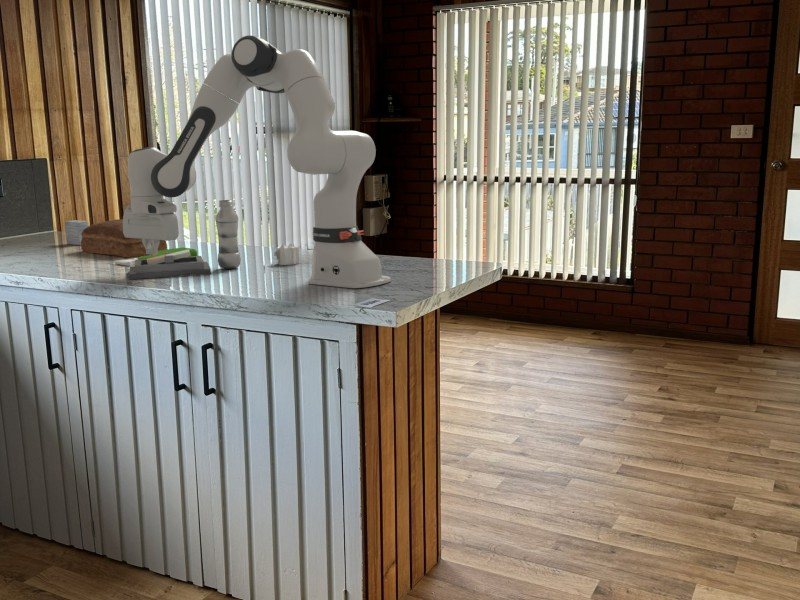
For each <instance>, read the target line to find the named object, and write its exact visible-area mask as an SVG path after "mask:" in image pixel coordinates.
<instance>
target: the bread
mask: <svg viewBox="0 0 800 600" xmlns="http://www.w3.org/2000/svg"><path fill="white" fill-rule="evenodd" d="M150 243H151V242H150ZM151 246H152V243H151ZM80 247H81V251H82V252H83V253H91V254H100V255H107V256H114V257H121V258H137V257H144V256H148V255H147V254H146V249H145V247H144V245H143V243H142V239H138V238H126V237H125V236H124V234H123V218H122V219H120V218H119V219H117V218H116V219H113V220H105V221H100V222H95V223H92V224H91V225H88V227H87V228H85V229H84V230H83V232H82V240H81V245H80ZM157 249H158V251H161V250H167V249H168V244H167V241H165V240H160V244H159V246H158V248H157Z"/></svg>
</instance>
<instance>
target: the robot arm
mask: <svg viewBox="0 0 800 600" xmlns="http://www.w3.org/2000/svg"><path fill="white" fill-rule="evenodd" d="M253 87H254V88H256V90H257V91H260V92H261V91H262V92H267V93H272V94H284V93H285V95H286V98H287V100H288V102H289V105H290V109H291V110H292V114H293V117H294V119H295V125H296V126H295V133H294V135H293V136H292V137H291V139H290V140H289V143H288V146H287V159H288V160H287V161H288V162H289V164H290V166H291V167H292V169H293V170H294V171H296V172H297V173H303V174H307V175H313V176H315V175H316V176H318V175H327V179H326V182H325V184H324V186H323V187H322V188H321V189H320V190H319V191H318V192H317V193H316V194H315V195H314V198H313V219H314V220H313V222H314V223H313V224H314V226H313V227H312V241H314V248H313V251H312V258H311V259H312V262H311V263H312V264H311V274H310V275H311V276H310V279H309V282H308V283H309V285H319V286H329V287H338V288H349V289H361V288H369V287H375V286H379V285H383V284H388V283H390V282H392V279H391V277H390V276H387V275H383V273H382V270H383V269H382V264H381V260H380V258H379V257H378V256H377V255H376V254H375V253H374V251H372V250H371V249H370V248H369V247H368V246H367V245H366V243H364V242H363V241H362V240H363V239H362V236H363V235H364V233H363V232H365V231H364V229H362V230H360V229H359V227H358V225H357V195H358V191H359V186H360V184H361V181H362V179H363V177H364V175H365V174H366V171H367V170H368V169H370V168H371V166H372V165H373V163H374V161H375V158H376V151H377V149H376V145H375V142H374V140H373V138H372V137H371V136H370V135H369V134H367V133H364V132H360V131H356V130H332V128H330V126H329V123H328V122H329V120H331V118H332V117H333V115H334V113H335V110H336V102H335V100H334V98H333V96H332V93H331V91H330V89H329V86H328V84H327V81H326V79H325V77H324V75H323V72H322V71H321V69H320V67H319V66H318V64H317V62H316V61H315V59H314V57H312V55H311V53H309V52H308V51H307V50H305V49H303V48H302V49H301V48H295V49H291V50H289V51H287V52H284V53H282V52H281V51H280V50H279V49H278V48H277V47H275V46H274V45H272V44H271V43H269V42H268V41H266V40H265V39H263V38H261V37H258V36H255V35H245V36H242V37H241V38H239V39H237V41H236V42H235V43H234V44H233V47H232V48H231V53H229V54H227V53H226V54H223V55H222V56H221V57H220V58H219V59H218V60H217V61H216V63H215V64H214V65H213V66H212V68H211V70H209V73H208V74H207V75H206V77H205V78H204V81H203V83H202V85H200V88H199V91H198V93H197V95H196V98H195V101H194V103H193V107H192V109H191V112H190V115H189V117H188V120H187V122H186V124H185V126H184V128H183V129H182V131H181V133H180V135H179V137H178V139H177V140H176V142H175V144H174V145H173V147H172V148H171V150H170V152H168V154H167V153H166V152H165V153H164V152H163V151H161V150H160V149H158V148H157V147H154V146H146V147H141V148H138V149H134V150H133V151H132V150H131V152H130V153H129V155H128V157H127V158H128V161H127V171H128V172H127V173H128V182H129V185H130V194H129V198H130V205H126V207H125V209H124V214H123V216H122V219H123V234H124V236H125V237H126V238H138V239H142V243H143V245H144V247H145V249H146V254H147V255H146V256H150V255H157V254H158V249H157V248H158V246H159V244H160V240H165V241H166V242H167V241H176V240H178V238H179V233H180V232H179V221H178V217H177V215H176V214H175V213H176V212H177V211H178V210H177V209H178V208H177V204H174V203H172V202H171V201H169V200H168V199H166V198H177V197H180V196H181V195H183V194H184V193H186V192H188V191H189V190H190V189H192V188H193V186H194V185H195V183H196V181H197V172H196V170H195V169H196V168H195V167H194V165H193V164H194V163H195V159H196V158H197V156H198V155H199V152H200V151H201V149H202V148H203V146H204V144H205V142H206V141H207V139H208V138H209V137H210V136H211V135H212V134H213V133H214V132H215V131H216V130H219V128H221V127H223V126H224V125H226V124H227V122H229V120H230V119H231V118H232V116H233V115H234V114H235V112H236V111H237V109H238V107H239V105H240V103H241V102H242V99H243V98H244V96H245V94H246V92H247V91H248V90H249V89H251V88H253ZM164 197H166V198H164ZM150 242H151V243H152V246H151V243H150Z"/></svg>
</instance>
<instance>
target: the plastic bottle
mask: <svg viewBox="0 0 800 600" xmlns="http://www.w3.org/2000/svg"><path fill="white" fill-rule="evenodd" d="M218 204H219V205H218V207H219V208H220V209H219V210H218V212H217V213H216V215H215V224H216V230H217V237H218V254H217V263H218V266H219V267H220V269H226V270H232V269H235V268H238V267H240V265H241V261H242V260H241V259H242V258H241V254H240V249H239V242H238V241H239V239H238V233H239V232H238V229H239V216H238V214H237V213H236V211H235V210H234V209H233V207H234V204H233V200H232V199H222V200H218Z"/></svg>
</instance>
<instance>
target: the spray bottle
mask: <svg viewBox="0 0 800 600" xmlns="http://www.w3.org/2000/svg"><path fill="white" fill-rule="evenodd" d="M188 249H189V251H190V255H191V256H198V251H197V250H196V249H195V248H189V247H176V248H175V247H174V248H167V250H161V251H158V254H157V255H144V256H137V257H132V259H119V260H114V263H115V264H116V265H120V266H127V267H132V266H133V265H134V266H135V260H141V259H148V258H152V257H157V256H161V255H164V252H173V253H175V252H179V251H183V250H188ZM188 257H190V256H188Z"/></svg>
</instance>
